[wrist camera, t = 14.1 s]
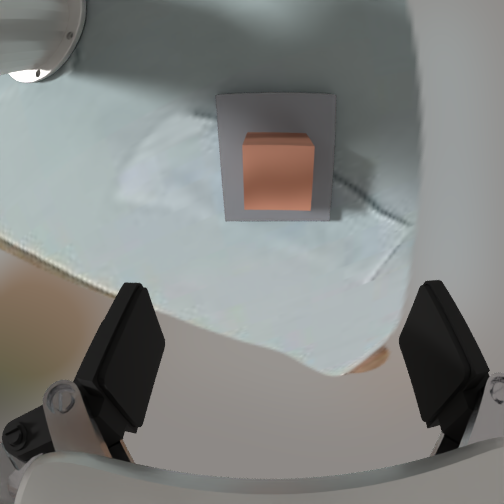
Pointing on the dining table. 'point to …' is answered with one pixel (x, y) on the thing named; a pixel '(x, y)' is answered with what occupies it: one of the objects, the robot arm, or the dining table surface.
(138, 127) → the dining table surface
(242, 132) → the slate board
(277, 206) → the brown cube
